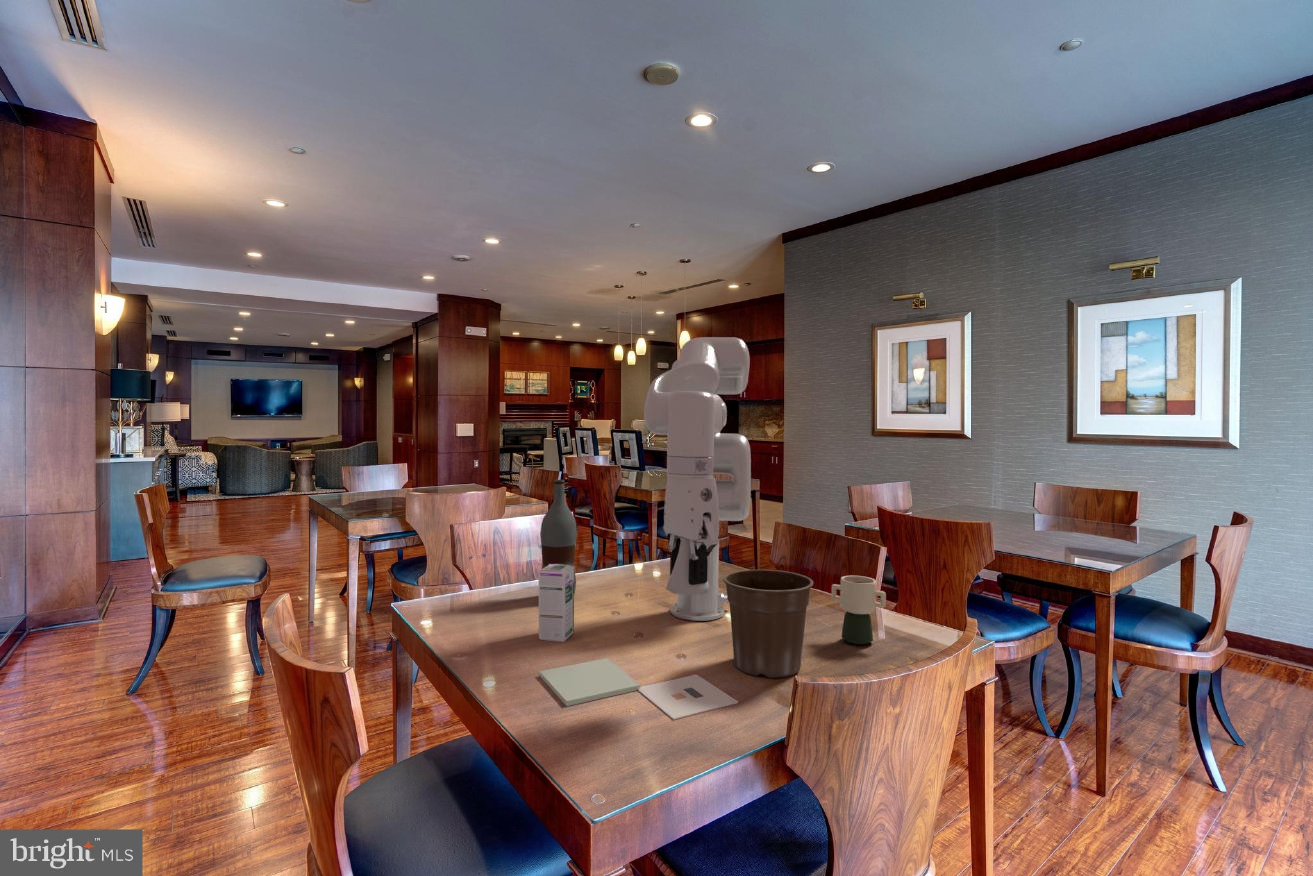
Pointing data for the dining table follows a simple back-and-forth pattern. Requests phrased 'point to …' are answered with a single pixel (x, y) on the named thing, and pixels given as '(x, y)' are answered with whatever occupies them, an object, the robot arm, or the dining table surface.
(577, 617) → the dining table surface
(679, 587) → the flask
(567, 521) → the bottle
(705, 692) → the white flat square
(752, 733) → the dining table surface
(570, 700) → the coaster
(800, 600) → the plant pot
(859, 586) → the character mug
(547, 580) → the syrup box
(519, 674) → the dining table surface
